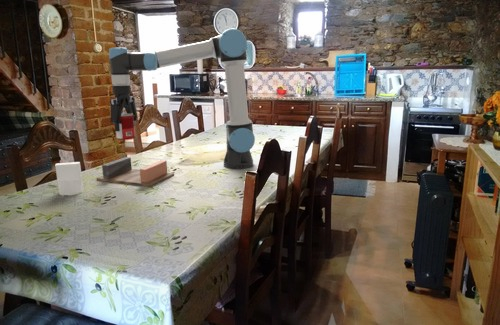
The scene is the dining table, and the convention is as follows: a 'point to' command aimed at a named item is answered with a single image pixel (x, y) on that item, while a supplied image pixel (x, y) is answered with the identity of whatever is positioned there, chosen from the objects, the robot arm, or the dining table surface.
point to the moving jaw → (153, 171)
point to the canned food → (127, 126)
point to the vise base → (127, 174)
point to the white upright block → (69, 178)
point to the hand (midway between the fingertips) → (126, 136)
